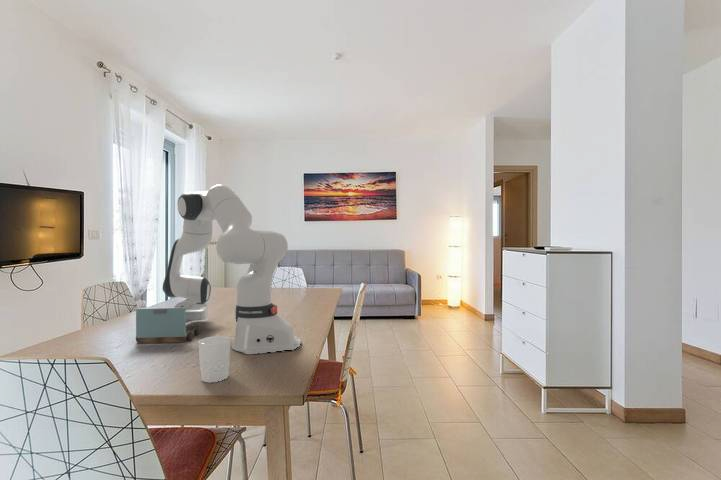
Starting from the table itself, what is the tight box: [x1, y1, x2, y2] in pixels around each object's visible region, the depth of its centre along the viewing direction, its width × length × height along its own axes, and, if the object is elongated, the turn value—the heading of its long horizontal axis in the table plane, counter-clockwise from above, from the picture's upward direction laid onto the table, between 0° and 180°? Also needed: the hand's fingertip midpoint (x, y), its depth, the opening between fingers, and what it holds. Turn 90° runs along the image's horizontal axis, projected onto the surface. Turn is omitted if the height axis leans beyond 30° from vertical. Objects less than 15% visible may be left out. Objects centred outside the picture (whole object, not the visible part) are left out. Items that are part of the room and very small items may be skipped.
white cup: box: [197, 335, 232, 384], centre depth 97 cm, size 8×8×10 cm
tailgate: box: [135, 307, 187, 339], centre depth 129 cm, size 16×2×10 cm, turn 96°
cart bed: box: [135, 325, 201, 344], centre depth 136 cm, size 18×12×3 cm, turn 96°
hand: (171, 318), depth 137 cm, fingers closed
